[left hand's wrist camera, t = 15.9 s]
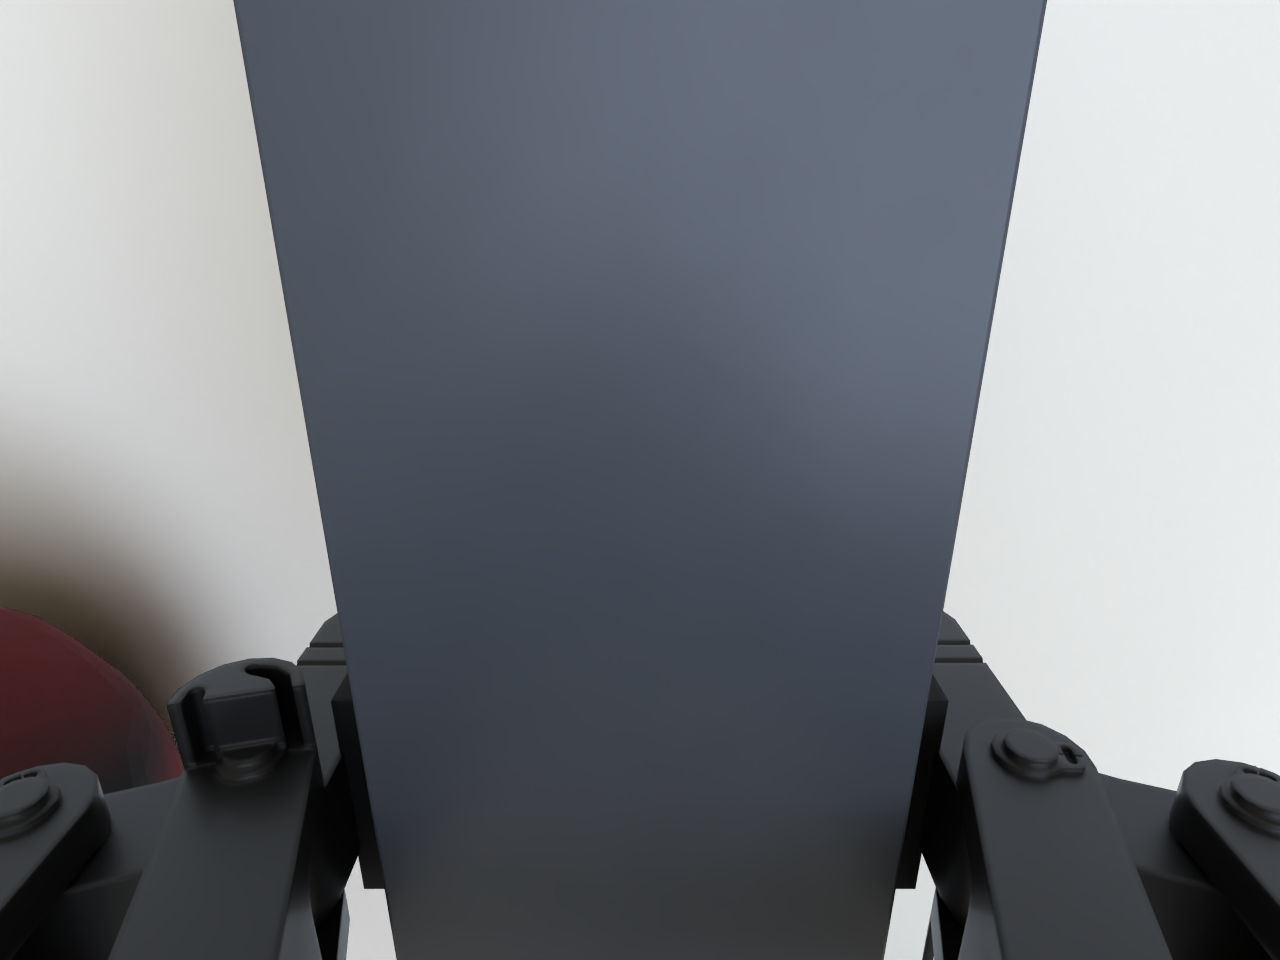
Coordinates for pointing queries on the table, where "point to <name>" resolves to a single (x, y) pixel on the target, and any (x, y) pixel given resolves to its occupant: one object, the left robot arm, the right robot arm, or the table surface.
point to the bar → (640, 439)
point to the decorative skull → (75, 710)
